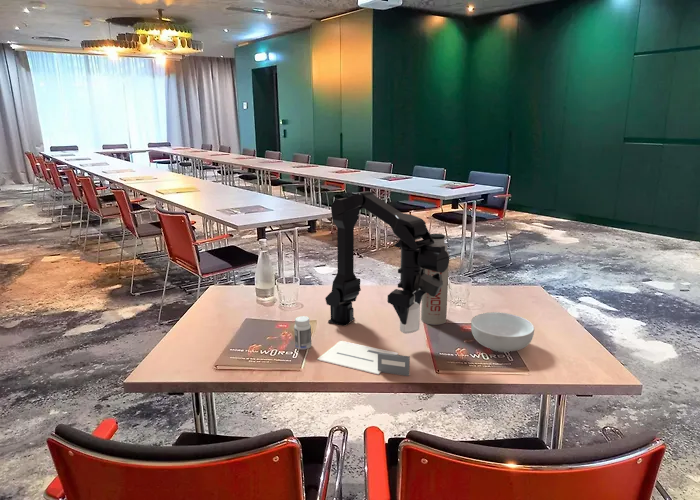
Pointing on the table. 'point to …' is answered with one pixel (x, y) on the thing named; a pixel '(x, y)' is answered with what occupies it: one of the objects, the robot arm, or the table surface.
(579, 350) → the table surface
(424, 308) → the thermos bottle
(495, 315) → the cereal bowl
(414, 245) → the robot arm
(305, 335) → the pill bottle
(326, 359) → the paper sheet
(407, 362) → the gray rectangular block
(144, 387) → the table surface
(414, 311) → the white plastic bottle
